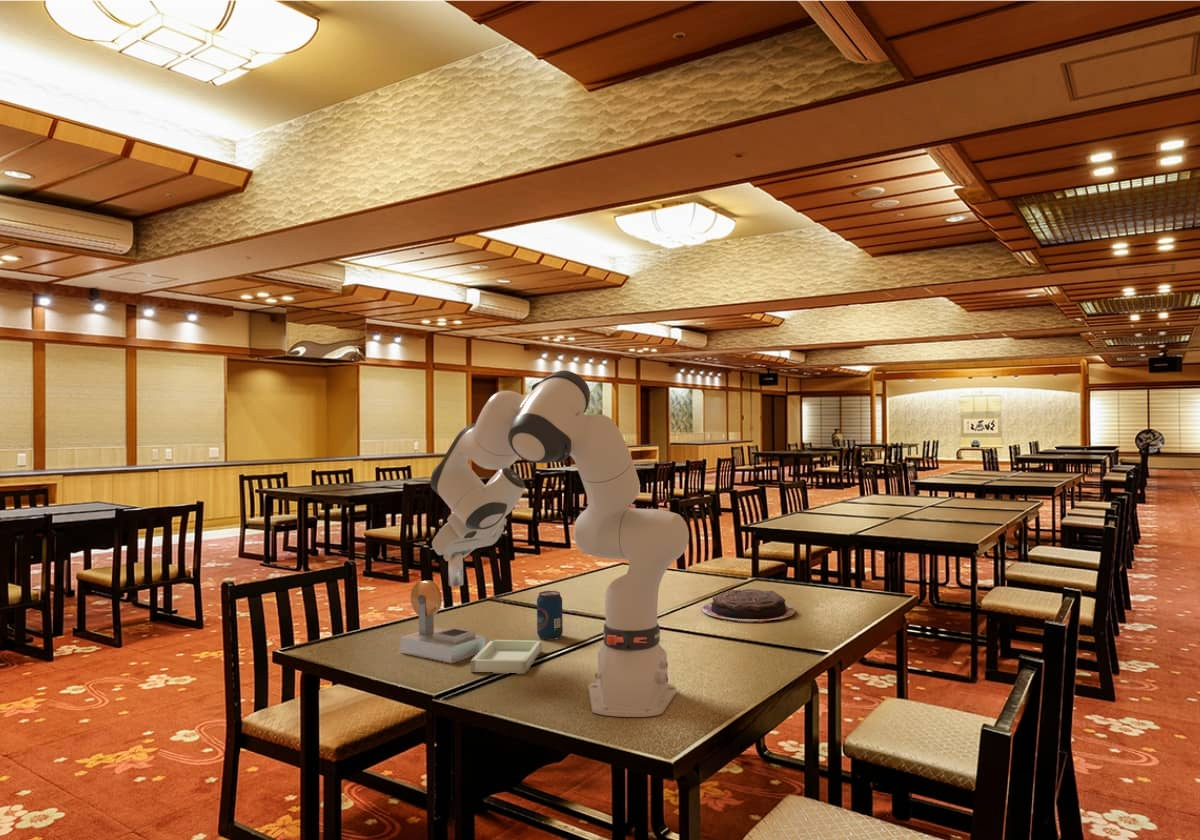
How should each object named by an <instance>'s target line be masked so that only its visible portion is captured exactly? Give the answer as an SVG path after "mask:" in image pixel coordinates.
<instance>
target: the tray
mask: <svg viewBox="0 0 1200 840" xmlns="http://www.w3.org/2000/svg"><path fill="white" fill-rule="evenodd" d="M541 653H542V640H526V639H525V640H524V639H522V640H520V639H519V640H518V639H491V640H490V641H489V642H488V643H486V644H485V647H484V648H483V649H482V650H481V651H480V652H479V653H478V654H477V655H475V656H473V657H472V659H471V660H470V673H471V672H493V673H492V674H509V673H517V674H519V675H526V674H527V673H528V672H529V670H530V669H531V667H532V666H533V664H534V663H535V662H536V660H537V659H538V658H539V656H540V655H541ZM539 654H540V655H539ZM538 655H539V656H538ZM536 658H537V659H536ZM535 659H536V660H535ZM534 661H535V662H534ZM533 662H534V663H533ZM532 663H533V664H532ZM531 665H532V666H531ZM529 668H530V669H529ZM527 671H528V672H527ZM526 672H527V673H526ZM517 674H516V675H517Z"/></svg>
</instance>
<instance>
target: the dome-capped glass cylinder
mask: <svg viewBox="0 0 1200 840" xmlns="http://www.w3.org/2000/svg"><path fill="white" fill-rule="evenodd" d="M453 556H454V557H453V558H452V560H450V561H447V562H448V567H447V568H448V586H449V587H461V586H463V585H464V558H463V551H459V552H455V553H453Z"/></svg>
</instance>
